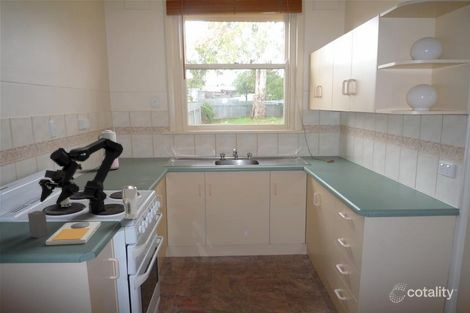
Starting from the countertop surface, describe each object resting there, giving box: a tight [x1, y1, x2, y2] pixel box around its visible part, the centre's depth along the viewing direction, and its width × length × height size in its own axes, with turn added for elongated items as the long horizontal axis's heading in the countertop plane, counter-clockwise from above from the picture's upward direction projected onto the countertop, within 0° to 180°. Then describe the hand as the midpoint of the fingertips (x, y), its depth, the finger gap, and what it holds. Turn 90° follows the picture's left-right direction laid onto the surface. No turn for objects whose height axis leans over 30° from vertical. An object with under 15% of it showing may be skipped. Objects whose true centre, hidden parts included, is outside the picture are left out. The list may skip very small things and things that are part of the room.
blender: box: [97, 129, 120, 172], centre depth 269 cm, size 16×12×32 cm
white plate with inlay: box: [45, 221, 102, 246], centre depth 140 cm, size 20×15×2 cm
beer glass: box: [121, 185, 138, 221], centre depth 159 cm, size 7×7×15 cm
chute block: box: [27, 210, 49, 239], centre depth 139 cm, size 4×5×10 cm
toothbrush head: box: [59, 197, 72, 208], centre depth 185 cm, size 5×7×25 cm
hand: (48, 202), depth 143 cm, fingers open, 9 cm apart
